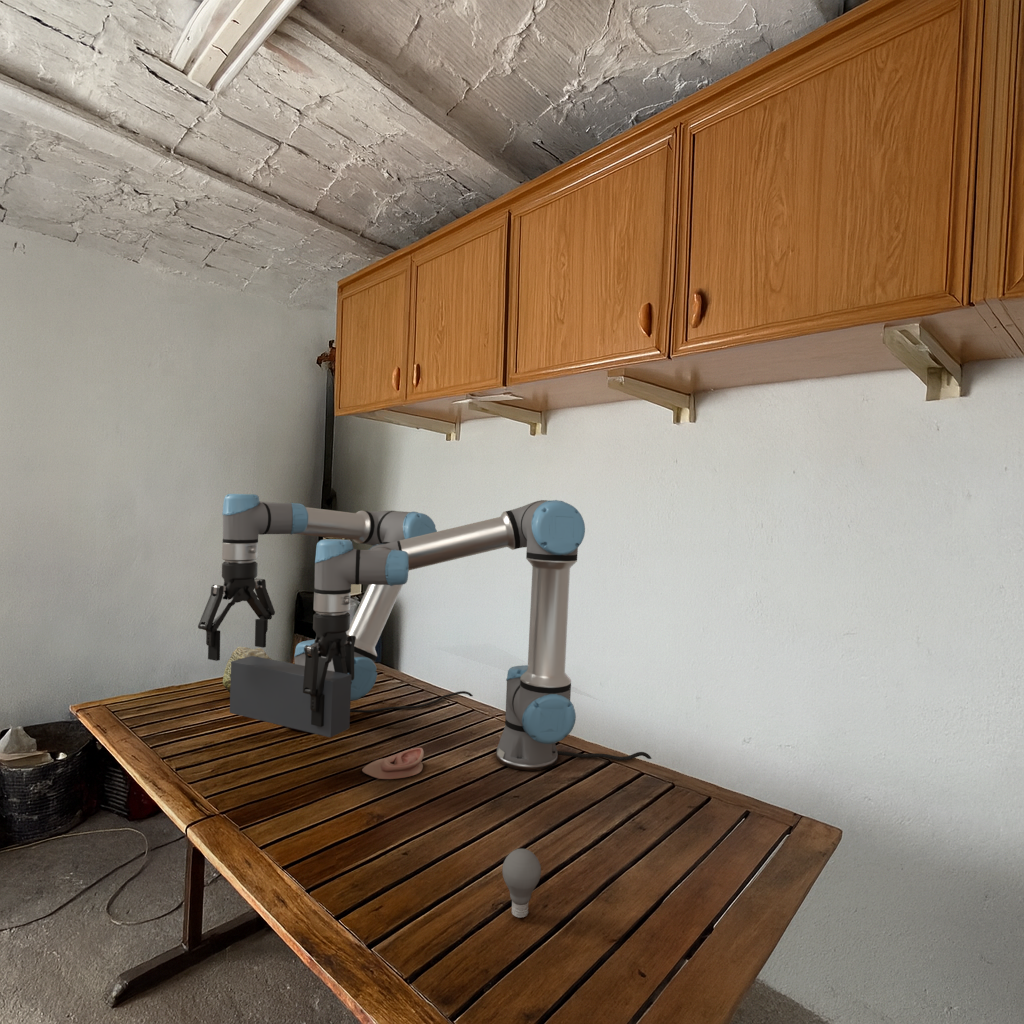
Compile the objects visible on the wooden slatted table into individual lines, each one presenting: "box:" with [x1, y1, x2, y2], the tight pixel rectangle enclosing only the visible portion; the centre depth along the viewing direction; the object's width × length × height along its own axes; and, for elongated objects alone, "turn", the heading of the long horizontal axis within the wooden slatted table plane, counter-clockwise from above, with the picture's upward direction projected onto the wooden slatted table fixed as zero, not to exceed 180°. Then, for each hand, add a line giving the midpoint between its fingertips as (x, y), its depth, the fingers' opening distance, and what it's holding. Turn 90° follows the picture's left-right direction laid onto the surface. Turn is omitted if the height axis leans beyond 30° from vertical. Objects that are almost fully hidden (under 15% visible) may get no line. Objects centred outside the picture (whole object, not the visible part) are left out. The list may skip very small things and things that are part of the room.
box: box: [229, 656, 352, 738], centre depth 139 cm, size 29×6×12 cm, turn 65°
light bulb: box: [502, 848, 542, 919], centre depth 98 cm, size 6×6×10 cm
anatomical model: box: [361, 747, 425, 780], centre depth 148 cm, size 13×4×12 cm
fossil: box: [222, 646, 272, 693], centre depth 198 cm, size 9×18×15 cm, turn 132°
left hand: (238, 653), depth 146 cm, fingers open, 13 cm apart
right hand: (328, 719), depth 135 cm, fingers closed on box, 6 cm apart
